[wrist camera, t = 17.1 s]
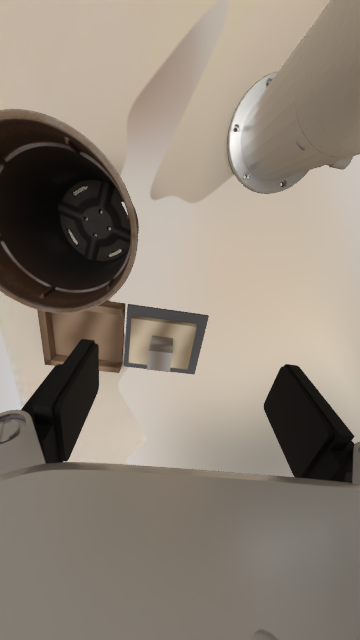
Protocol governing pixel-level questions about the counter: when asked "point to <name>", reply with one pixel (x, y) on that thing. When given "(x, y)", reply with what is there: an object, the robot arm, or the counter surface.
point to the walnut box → (85, 334)
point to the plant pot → (60, 216)
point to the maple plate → (163, 330)
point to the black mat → (172, 316)
